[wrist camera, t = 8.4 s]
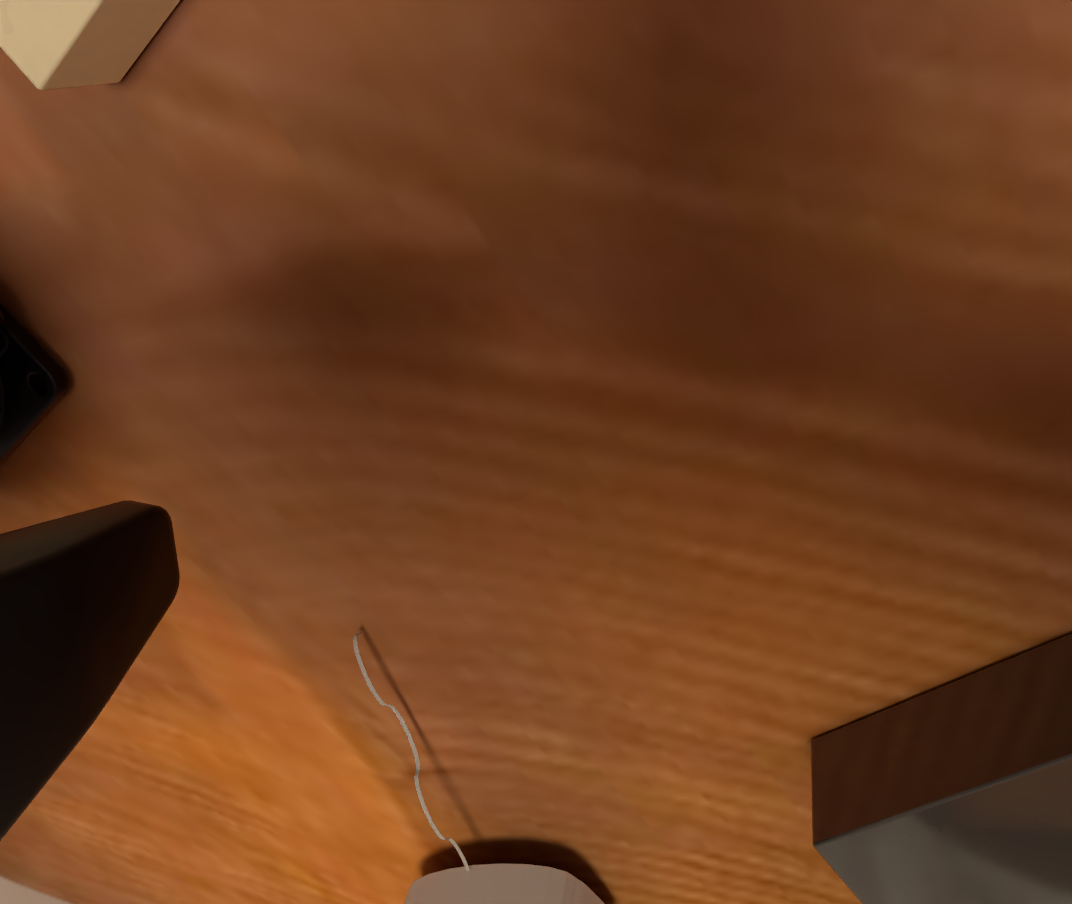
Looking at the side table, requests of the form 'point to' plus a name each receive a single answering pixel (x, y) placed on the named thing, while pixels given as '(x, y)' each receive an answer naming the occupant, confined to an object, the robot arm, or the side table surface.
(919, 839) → the panel
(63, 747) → the robot arm
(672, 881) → the side table surface
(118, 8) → the block
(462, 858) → the game controller
